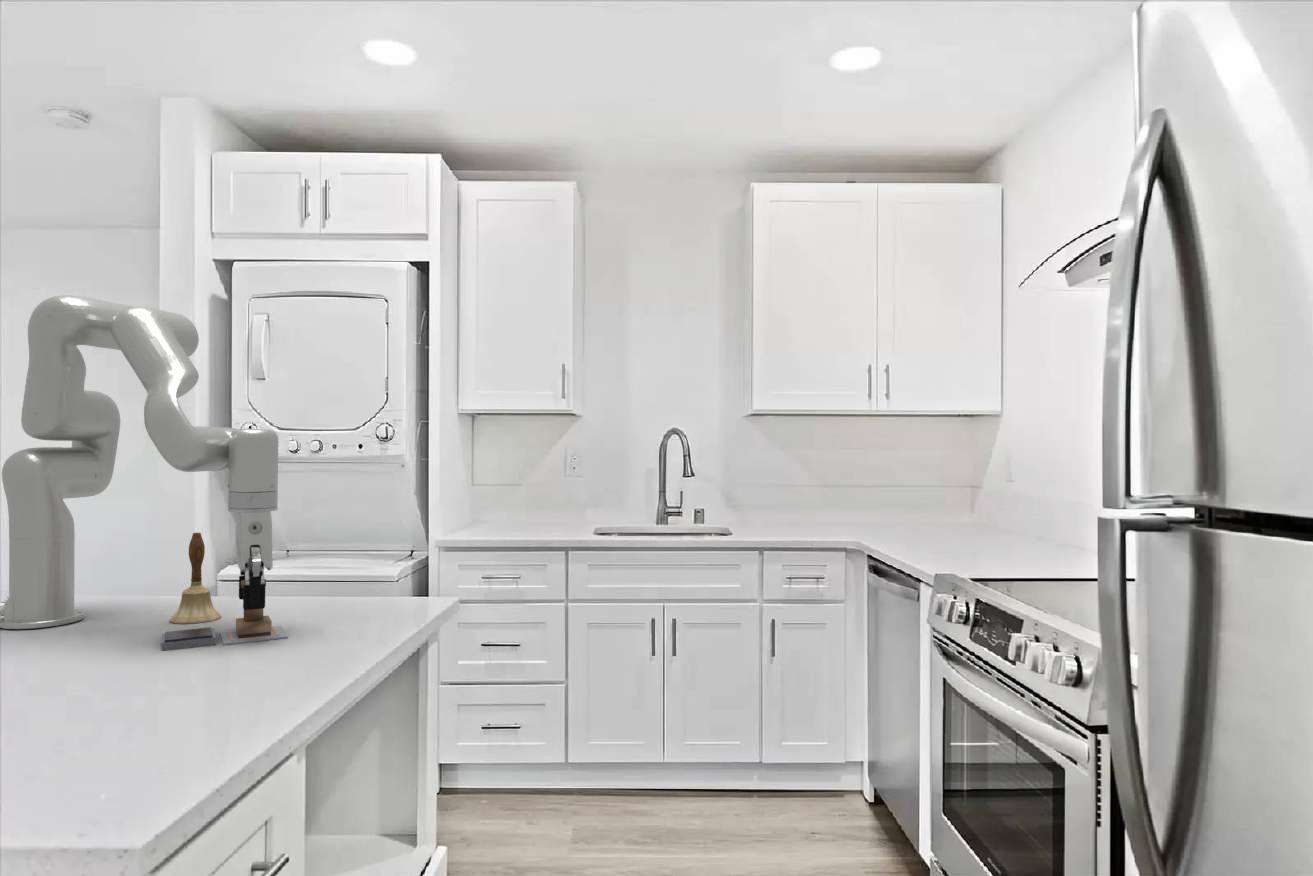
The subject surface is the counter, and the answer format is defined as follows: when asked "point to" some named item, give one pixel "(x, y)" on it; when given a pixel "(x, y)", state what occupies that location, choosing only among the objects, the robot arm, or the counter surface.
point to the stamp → (253, 622)
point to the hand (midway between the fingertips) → (251, 603)
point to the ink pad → (188, 638)
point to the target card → (232, 637)
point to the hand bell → (196, 591)
